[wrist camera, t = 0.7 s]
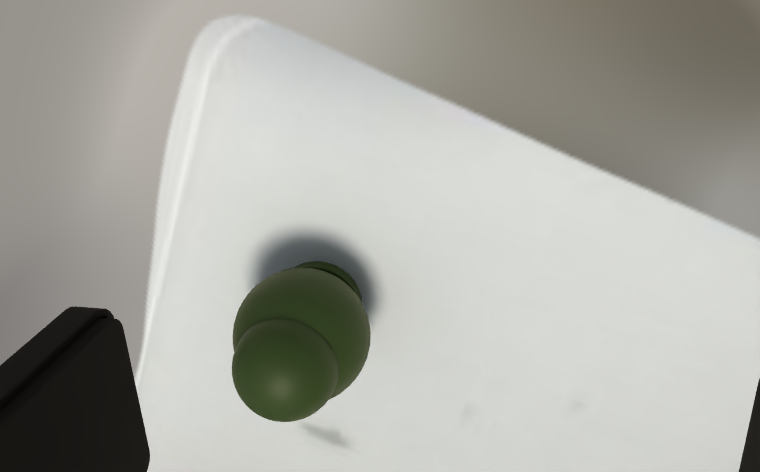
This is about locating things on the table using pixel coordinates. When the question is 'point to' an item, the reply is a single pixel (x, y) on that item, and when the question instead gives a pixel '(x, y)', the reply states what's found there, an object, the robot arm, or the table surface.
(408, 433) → the table surface
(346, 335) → the avocado
